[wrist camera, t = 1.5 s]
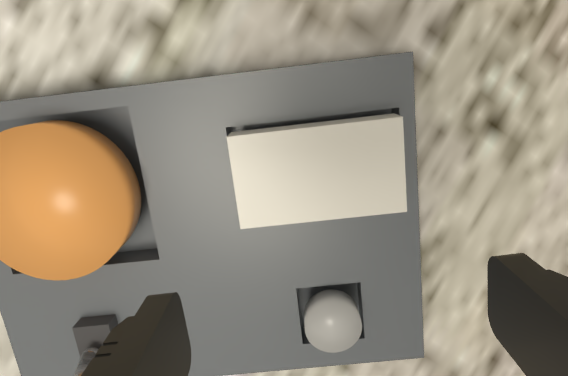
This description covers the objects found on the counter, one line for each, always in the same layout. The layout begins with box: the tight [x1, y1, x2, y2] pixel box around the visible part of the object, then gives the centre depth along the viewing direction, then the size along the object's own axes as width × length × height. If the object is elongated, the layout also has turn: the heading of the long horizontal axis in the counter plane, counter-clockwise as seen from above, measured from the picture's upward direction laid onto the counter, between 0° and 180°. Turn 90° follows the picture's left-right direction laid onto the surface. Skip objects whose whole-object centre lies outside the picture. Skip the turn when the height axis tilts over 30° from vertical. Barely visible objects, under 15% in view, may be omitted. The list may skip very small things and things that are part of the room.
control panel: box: [0, 52, 424, 376], centre depth 28 cm, size 28×20×4 cm
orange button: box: [0, 120, 141, 280], centre depth 25 cm, size 9×9×2 cm
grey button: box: [304, 289, 362, 353], centre depth 28 cm, size 4×4×2 cm
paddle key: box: [227, 113, 407, 229], centre depth 25 cm, size 10×5×2 cm, turn 97°
